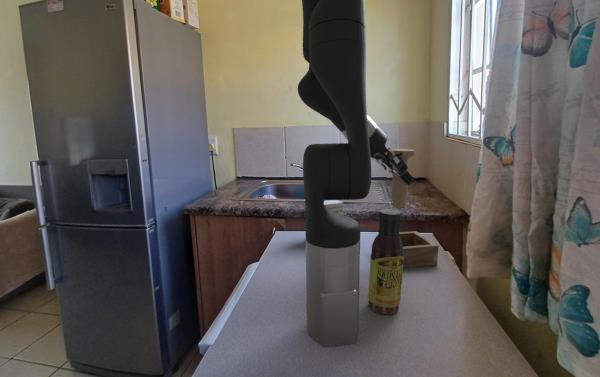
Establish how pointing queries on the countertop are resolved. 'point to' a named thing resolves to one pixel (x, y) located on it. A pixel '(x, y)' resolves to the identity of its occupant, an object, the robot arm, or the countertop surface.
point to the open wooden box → (418, 249)
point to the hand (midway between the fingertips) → (407, 180)
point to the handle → (400, 180)
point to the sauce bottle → (386, 265)
